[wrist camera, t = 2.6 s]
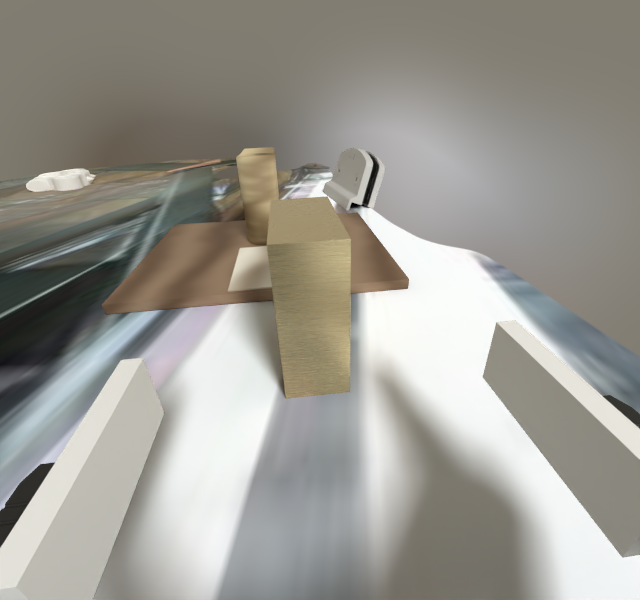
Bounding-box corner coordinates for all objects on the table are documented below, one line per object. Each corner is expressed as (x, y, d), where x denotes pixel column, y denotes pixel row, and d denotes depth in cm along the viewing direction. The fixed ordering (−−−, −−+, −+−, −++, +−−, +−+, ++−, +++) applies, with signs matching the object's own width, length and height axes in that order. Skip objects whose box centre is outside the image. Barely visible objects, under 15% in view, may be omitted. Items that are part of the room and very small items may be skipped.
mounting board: (105, 314, 30) (53, 188, 25) (176, 231, 51) (156, 153, 46) (408, 288, 32) (420, 167, 27) (357, 218, 53) (358, 142, 48)
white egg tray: (42, 184, 96) (100, 178, 101) (26, 196, 82) (95, 188, 87) (36, 172, 94) (96, 167, 100) (19, 182, 80) (90, 175, 85)
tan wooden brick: (285, 398, 21) (266, 244, 16) (283, 320, 28) (270, 200, 24) (349, 391, 21) (350, 238, 16) (330, 315, 29) (327, 196, 24)
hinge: (322, 191, 72) (336, 142, 68) (342, 197, 74) (357, 149, 70) (346, 210, 58) (367, 149, 54) (370, 217, 59) (392, 158, 55)
